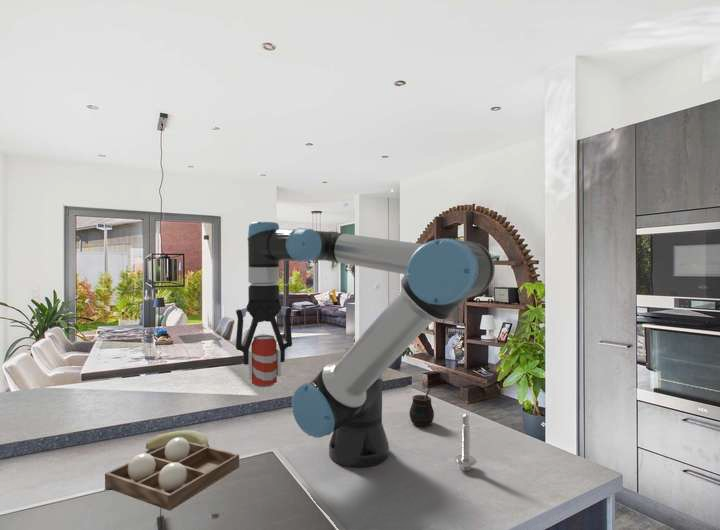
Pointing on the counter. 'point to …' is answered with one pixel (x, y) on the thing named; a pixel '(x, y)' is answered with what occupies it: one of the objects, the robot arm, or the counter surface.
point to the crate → (201, 473)
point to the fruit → (186, 434)
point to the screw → (465, 447)
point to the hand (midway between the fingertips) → (264, 376)
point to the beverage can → (264, 361)
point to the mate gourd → (421, 410)
